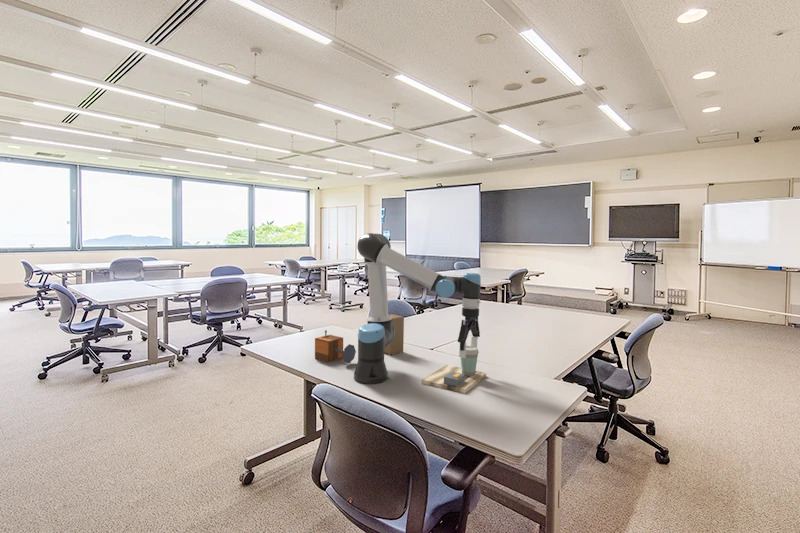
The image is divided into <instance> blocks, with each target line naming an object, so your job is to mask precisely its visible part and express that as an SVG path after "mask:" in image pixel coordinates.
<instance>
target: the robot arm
mask: <svg viewBox="0 0 800 533" xmlns="http://www.w3.org/2000/svg"><path fill="white" fill-rule="evenodd" d="M357 251H358V254H360V256H362V257H363V259H364V264H365V265H366V266H367V273H368V275H367V276H368V294H369V295H368V297H369V315H370V316H369V317H368V318H367V323H366V324H362V325H361V326H360V327H359V328H358V332H357V339H358V340H357V355H358V356H357V363H356V367H355V369H354V372H353V380H355V382H358V383H360V384H372V385H373V384H379V383H382V382H385V381H386V382H387V380H388V377H389V373H388V372H389V371H388V369H387V365H386V363H385V353H384V348H385V347H386V346H387V345H388V344H389V343H390V342H391V341H392V340H393V338H394V334H395V330H394V327H393V325H392V318H391V317H390V316H389V315H390V314H389V303H388V302H389V301H388V300H389V299H388V283H387V267H388V268H390V270H393V271H395V272H397V273H399V274H401V275H403V276H405V277H406V278H408V279H410V280H412V281H414V282H415V283H418V284H420V285H421V286H424V287H426V288H428V289H429V290H431V291H433V292H435V293H436V294H437V295H438V296H439V297H442V298H449V297H451V296H452V295H454V294H462V302H461V303H462V305H461V306H462V308H461V315H462V317H464V319H461V324H460V325H461V326H460V328H459V329H460V330H459V333H458V338H457V343H459V352H458V353H459V356H458V357H459V358H461V357H462V358H466V346H467V339H468V336H469V334H470V332H471V335H472V336H471V337H470V338H471V341H470V344H471V345H470V346H473V347H476V348H477V349H478V338H480V336H481V332H480V326H479V316H480V309H479V308H480V304H481V300H480V298H481V297H480V296H481V286H482V285H481V284H482V283H481V280H482V279H481V277H482V275H480V273H475V272H465V273H464V274H463V276H449V275H442V274H440V273H438V272H437V271H434V270H432V269H431V268H429V267H426V266H424V265H423V264H420V263H419V262H418V261H415V260H414V259H411V258H409V257H407V256H405V255H404V254H402V253H400V252H398V251H396V250H394V249H392V248H391V241H390V240H389V239H388V238H387V236H385V235H384V234H381V233H371V232H369V233H365V234H363V235H362V236H361V237H360V238H359V239H358V242H357Z"/></svg>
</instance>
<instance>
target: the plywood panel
mask: <svg viewBox="0 0 800 533" xmlns="http://www.w3.org/2000/svg"><path fill="white" fill-rule="evenodd" d="M451 372H456V373H461V374H462V368H461V367H460V366H459V367H458V366H453V365H448V364H446V365H444V366H442V367H441V368H438V370H436V371H434V372H432V373H430V374H429V375H427V376H426V377H424V378H422V379H421V384H423V385H427V386H431V387H435V388H439V389H444V390H448V391H452V392H456V393H461V394H467V392H468V391H470V390H471V389H472V388H474V387H475V386H476V385H477V384H479V383H480V382H481V381H482V380H483V379H485V378H486V376H487V372H483V371H479V370H476V371H475V375H474V376H465V381H464V382H463V383H461V384H460V385H459V386H457V387H455V386H451V385H447V384H444V377H445V376H446V375H448V374H449V373H451Z"/></svg>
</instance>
